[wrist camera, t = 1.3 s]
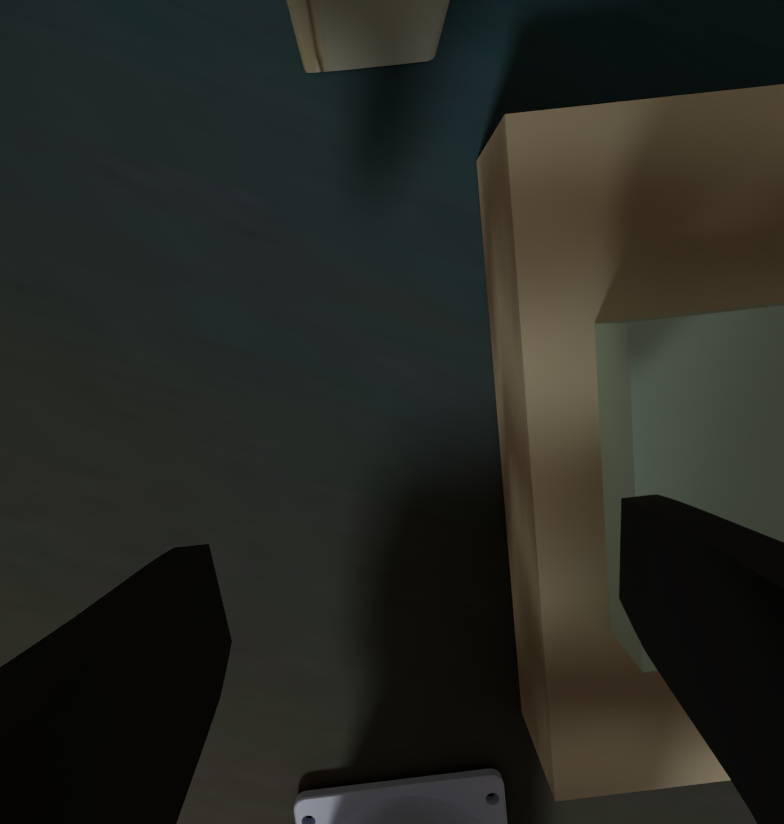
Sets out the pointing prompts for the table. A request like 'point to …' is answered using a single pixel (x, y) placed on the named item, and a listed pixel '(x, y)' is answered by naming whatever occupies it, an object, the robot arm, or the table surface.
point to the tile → (691, 423)
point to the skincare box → (366, 32)
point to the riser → (578, 390)
